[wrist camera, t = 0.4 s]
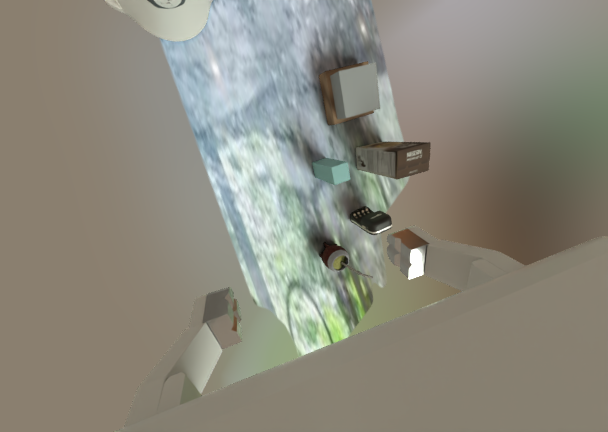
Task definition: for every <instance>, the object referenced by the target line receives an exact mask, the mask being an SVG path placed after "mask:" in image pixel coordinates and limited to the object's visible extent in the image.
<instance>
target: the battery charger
mask: <svg viewBox="0 0 608 432" xmlns="http://www.w3.org/2000/svg"><path fill="white" fill-rule="evenodd" d="M351 222H352V223H354V224H356V225H357V226H359V227H360V228H361V229H363V230H364V231H366V232H367V233H369V234H371V235H377V234H380V233H382V232H385V231H387V230H389V229H391V228H392V222H391V217H390V216H389V215H388V214H386V213H384V212H382V211H377V212H375V213H374V212H373V211H371V210H370V209H369V208H368V207H364V208H362V209H359V210H357V211H354V212H352V213H351Z"/></svg>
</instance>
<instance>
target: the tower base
mask: <svg viewBox="0 0 608 432" xmlns="http://www.w3.org/2000/svg"><path fill="white" fill-rule="evenodd" d="M363 65H368V61H367V62H363V63H359V64H354V65H350V66H346V67H342V68H337V69H333V70H329V71H325V72H323V73H322V74H320V75H319V80H320V85H321V90H322V96H323V101H324V106H325V111H326V117H327V122H328V125H335V124H339V123H342V122H345V121H349V120H352V119H355V118H359V117H362V116H365V115H369V114H372V113H374V111H369V112H366V113H362V114H359V115H355V116H352V117H349V118H344V119H337V115H336V109H335V103H334V97H333V91H332V85H331V79H330V76H331V75H333V74H335V73H336V72H338V71H342V70H346V69H351V68H355V67H359V66H363Z"/></svg>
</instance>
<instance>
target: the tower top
mask: <svg viewBox="0 0 608 432" xmlns="http://www.w3.org/2000/svg"><path fill="white" fill-rule="evenodd" d="M330 79H331V85H332V91H333V97H334V103H335V109H336V115H337V119H344V118H349V117H352V116H355V115H359V114H362V113H366V112H369V111H373V110H376V109H379V108H380V103H379V92H378V81H377V70H376V63H372V64H368V65H363V66H359V67H355V68H351V69H346V70H342V71H338V72H336V73H335V74H333V75H331V76H330Z"/></svg>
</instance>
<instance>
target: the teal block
mask: <svg viewBox="0 0 608 432" xmlns="http://www.w3.org/2000/svg"><path fill="white" fill-rule="evenodd" d="M312 165H313V169H314V174H315V177H316V178H318V179H321V180H323V181H326V182H328V183H331V184H333V185H337V184H340V183H342V182H345V181H348V180H350V174H349V168H348V162H344V161H339V160H334V159H329V158H324V159H321V160H318V161H315V162H312Z"/></svg>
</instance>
